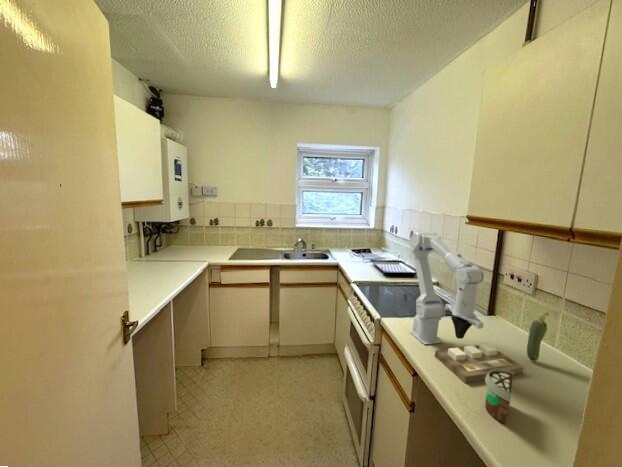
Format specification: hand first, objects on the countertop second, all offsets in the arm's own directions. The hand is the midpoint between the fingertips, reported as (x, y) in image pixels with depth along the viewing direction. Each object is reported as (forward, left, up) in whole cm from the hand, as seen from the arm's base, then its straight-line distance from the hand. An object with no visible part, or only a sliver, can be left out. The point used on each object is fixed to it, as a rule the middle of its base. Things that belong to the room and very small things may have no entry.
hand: (459, 337), depth 95 cm
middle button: (0, +7, -8) cm, 10 cm away
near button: (0, 0, -8) cm, 8 cm away
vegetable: (+4, +30, -10) cm, 32 cm away
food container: (+19, -5, -10) cm, 22 cm away
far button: (0, +14, -8) cm, 16 cm away
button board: (+2, +7, -10) cm, 12 cm away
